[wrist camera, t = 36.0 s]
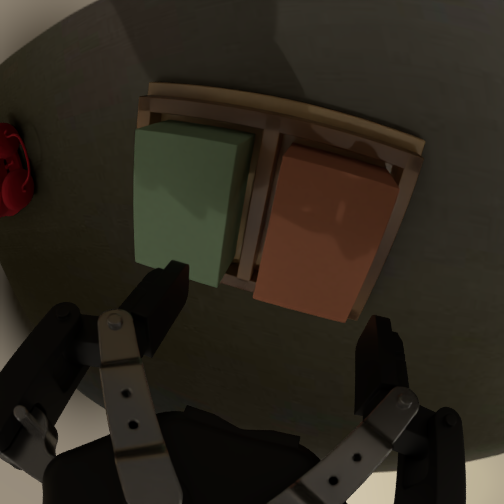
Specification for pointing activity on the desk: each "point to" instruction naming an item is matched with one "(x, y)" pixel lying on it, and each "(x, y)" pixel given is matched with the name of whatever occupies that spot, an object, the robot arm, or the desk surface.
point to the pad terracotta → (323, 231)
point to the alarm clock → (13, 173)
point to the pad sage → (189, 195)
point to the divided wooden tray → (272, 150)
